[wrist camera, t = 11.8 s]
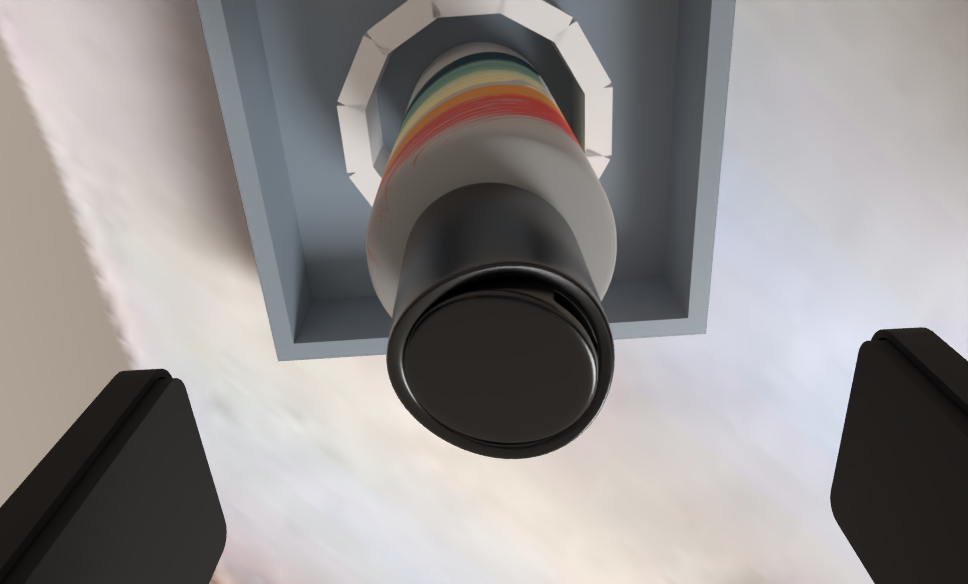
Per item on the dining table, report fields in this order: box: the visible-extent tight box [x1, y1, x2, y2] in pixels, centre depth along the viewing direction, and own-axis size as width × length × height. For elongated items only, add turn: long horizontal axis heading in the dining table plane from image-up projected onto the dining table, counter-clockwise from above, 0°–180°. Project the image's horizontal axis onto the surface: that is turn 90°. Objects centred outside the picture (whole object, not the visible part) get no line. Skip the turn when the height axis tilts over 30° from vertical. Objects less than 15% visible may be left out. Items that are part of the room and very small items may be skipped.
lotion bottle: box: [366, 42, 617, 459], centre depth 20 cm, size 6×6×20 cm
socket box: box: [196, 0, 736, 361], centre depth 28 cm, size 18×18×5 cm
